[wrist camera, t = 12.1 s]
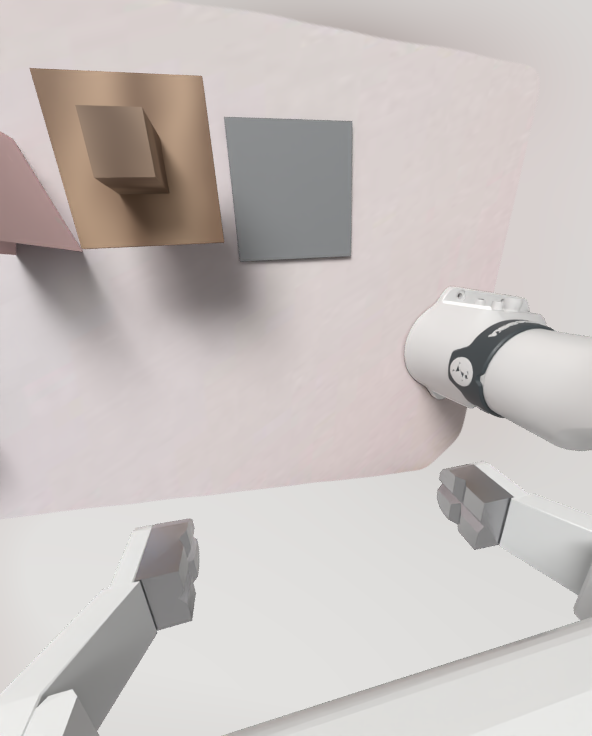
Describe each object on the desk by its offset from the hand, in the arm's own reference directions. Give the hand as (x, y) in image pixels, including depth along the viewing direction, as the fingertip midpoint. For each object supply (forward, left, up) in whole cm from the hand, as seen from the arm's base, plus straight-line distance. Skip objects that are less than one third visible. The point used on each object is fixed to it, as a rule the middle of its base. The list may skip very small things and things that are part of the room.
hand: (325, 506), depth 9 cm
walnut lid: (+9, -16, -23) cm, 29 cm away
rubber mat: (-6, -16, -33) cm, 37 cm away
